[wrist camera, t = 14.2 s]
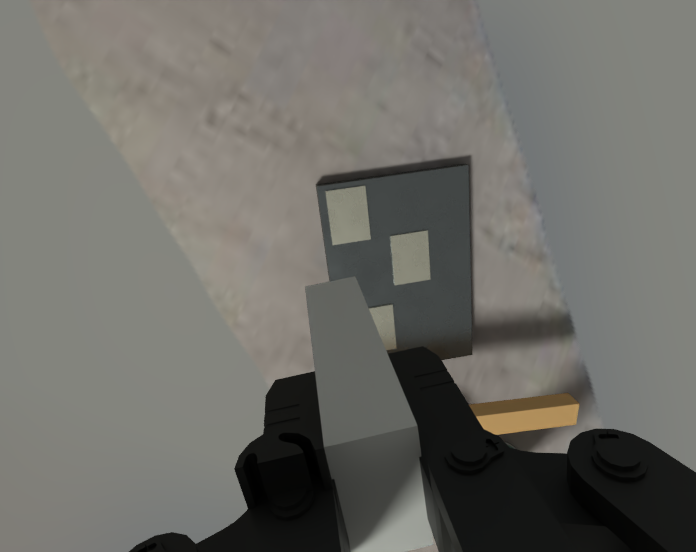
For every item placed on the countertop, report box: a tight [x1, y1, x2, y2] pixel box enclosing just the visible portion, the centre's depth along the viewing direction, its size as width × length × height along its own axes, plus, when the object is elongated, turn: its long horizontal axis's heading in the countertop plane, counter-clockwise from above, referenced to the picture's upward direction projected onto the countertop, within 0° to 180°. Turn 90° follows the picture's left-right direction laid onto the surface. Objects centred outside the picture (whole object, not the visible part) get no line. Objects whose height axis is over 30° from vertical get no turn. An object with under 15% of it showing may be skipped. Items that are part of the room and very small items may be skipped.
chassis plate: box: [316, 164, 472, 360], centre depth 44 cm, size 20×14×1 cm
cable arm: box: [469, 393, 579, 435], centre depth 42 cm, size 24×4×2 cm, turn 92°
